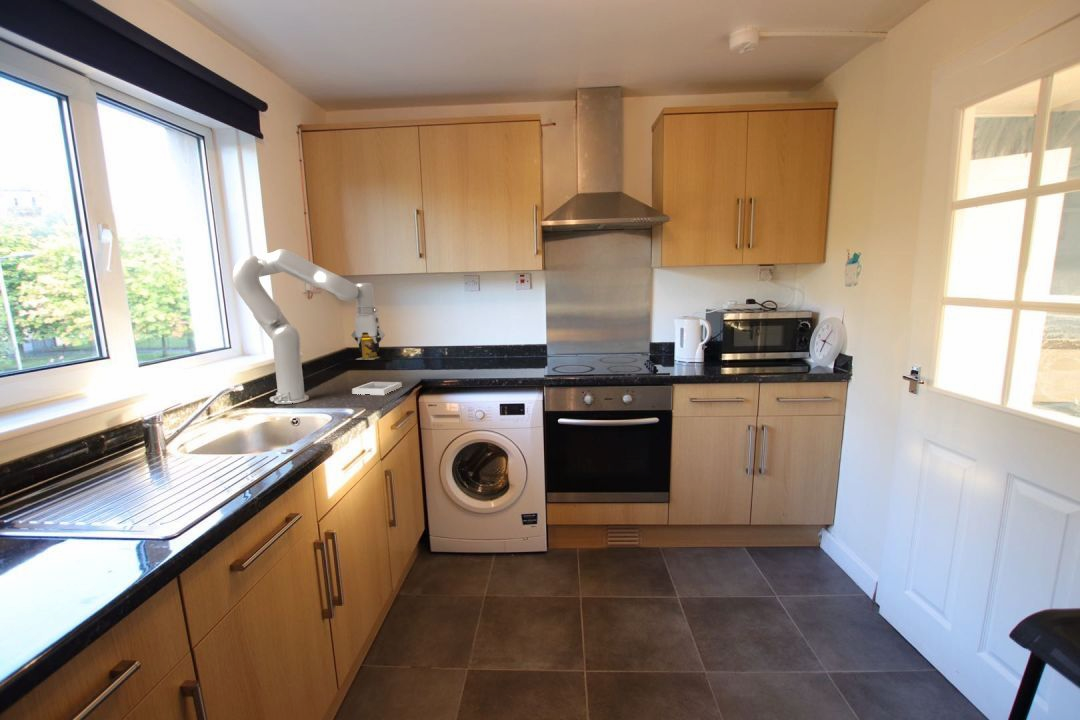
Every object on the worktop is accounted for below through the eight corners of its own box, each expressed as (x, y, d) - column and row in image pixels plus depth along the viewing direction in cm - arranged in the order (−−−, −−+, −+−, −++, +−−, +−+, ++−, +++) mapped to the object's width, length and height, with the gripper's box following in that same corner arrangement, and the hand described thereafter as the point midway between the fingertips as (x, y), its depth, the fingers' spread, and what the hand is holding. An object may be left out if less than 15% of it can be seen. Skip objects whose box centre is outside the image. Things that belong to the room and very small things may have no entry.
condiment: (373, 359, 202) (371, 332, 200) (355, 359, 202) (352, 332, 200) (380, 357, 209) (378, 330, 207) (362, 357, 209) (360, 331, 208)
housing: (384, 395, 197) (383, 389, 197) (352, 394, 200) (352, 388, 200) (401, 387, 213) (401, 382, 212) (372, 387, 216) (371, 381, 215)
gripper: (388, 310, 204) (391, 350, 207) (352, 311, 207) (356, 350, 210) (380, 311, 197) (383, 353, 200) (343, 312, 200) (346, 353, 203)
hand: (369, 351), depth 205 cm, fingers closed on condiment, 6 cm apart
